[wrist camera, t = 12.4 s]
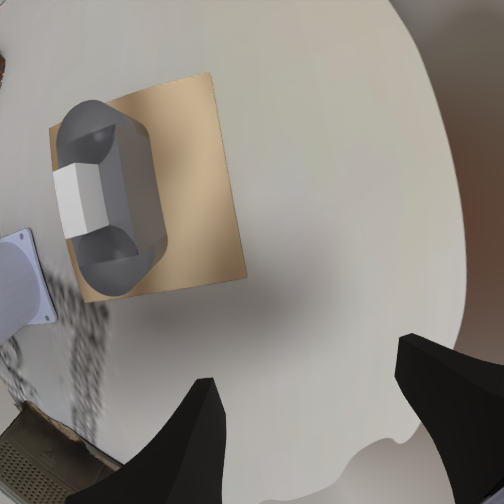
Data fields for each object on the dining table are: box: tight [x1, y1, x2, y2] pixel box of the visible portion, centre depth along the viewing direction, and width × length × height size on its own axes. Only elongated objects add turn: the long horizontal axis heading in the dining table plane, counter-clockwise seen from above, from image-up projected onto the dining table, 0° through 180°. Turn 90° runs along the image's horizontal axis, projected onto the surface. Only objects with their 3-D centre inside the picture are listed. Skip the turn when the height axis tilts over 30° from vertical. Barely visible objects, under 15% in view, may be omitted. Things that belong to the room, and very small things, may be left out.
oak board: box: [49, 73, 247, 303], centre depth 16 cm, size 12×13×1 cm
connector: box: [53, 100, 168, 297], centre depth 12 cm, size 4×10×7 cm, turn 9°
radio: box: [0, 401, 122, 504], centre depth 16 cm, size 23×9×15 cm, turn 41°
